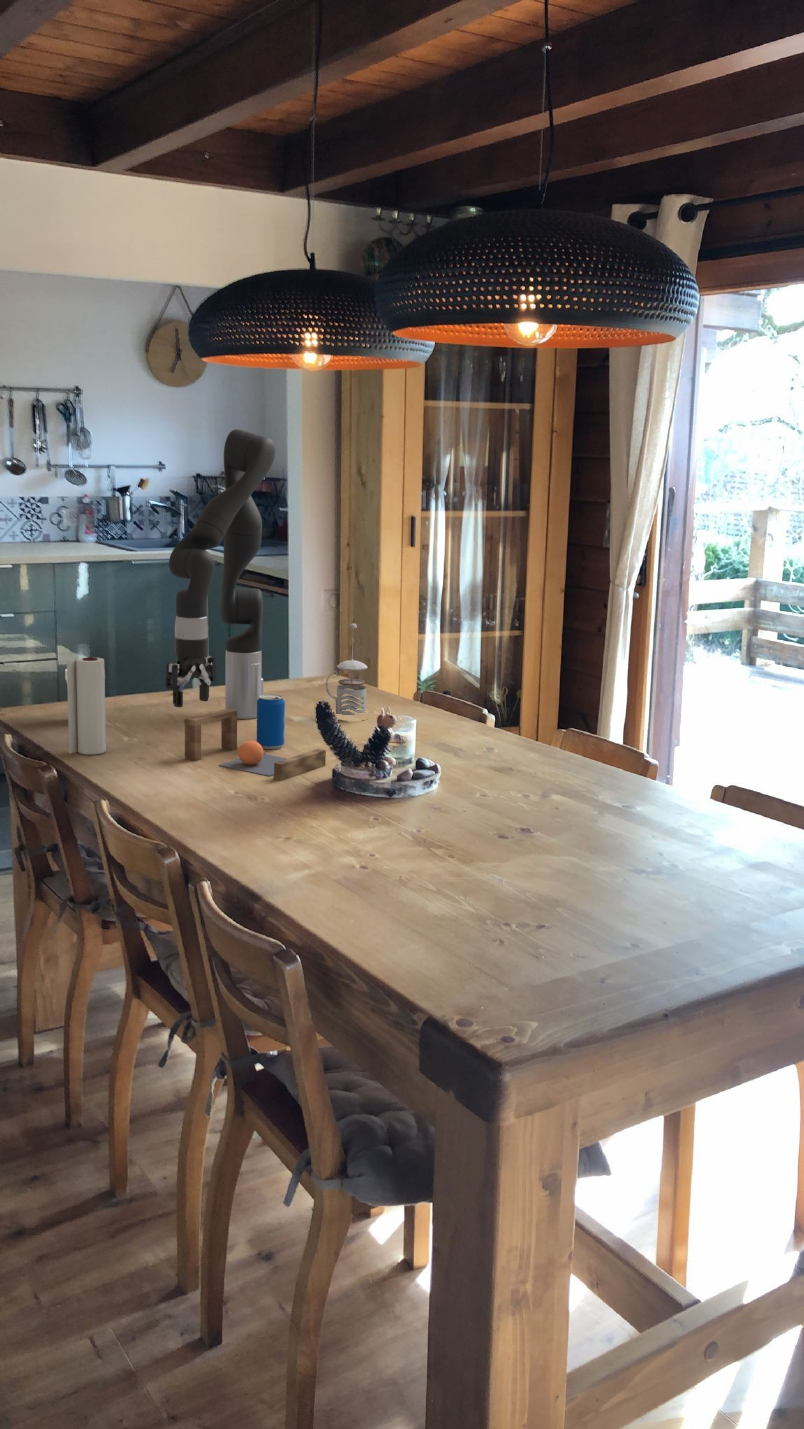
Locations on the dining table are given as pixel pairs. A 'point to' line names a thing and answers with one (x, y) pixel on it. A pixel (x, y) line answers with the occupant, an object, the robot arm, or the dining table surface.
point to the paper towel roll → (86, 705)
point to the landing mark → (261, 768)
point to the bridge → (194, 723)
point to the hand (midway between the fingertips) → (191, 703)
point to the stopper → (299, 764)
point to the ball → (250, 752)
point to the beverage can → (270, 721)
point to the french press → (352, 684)
